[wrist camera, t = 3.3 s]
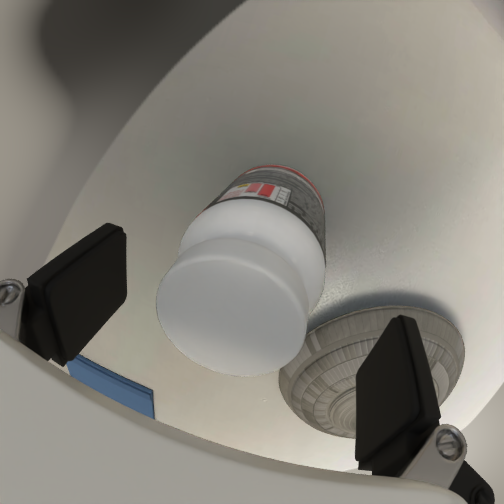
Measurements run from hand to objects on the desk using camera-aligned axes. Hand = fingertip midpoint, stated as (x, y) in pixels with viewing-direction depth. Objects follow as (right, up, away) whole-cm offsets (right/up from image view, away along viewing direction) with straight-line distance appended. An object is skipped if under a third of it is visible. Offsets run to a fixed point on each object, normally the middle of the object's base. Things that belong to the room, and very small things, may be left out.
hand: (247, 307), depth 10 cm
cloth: (-18, -16, +22) cm, 33 cm away
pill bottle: (+2, +4, +8) cm, 9 cm away
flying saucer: (+10, -7, +12) cm, 17 cm away
